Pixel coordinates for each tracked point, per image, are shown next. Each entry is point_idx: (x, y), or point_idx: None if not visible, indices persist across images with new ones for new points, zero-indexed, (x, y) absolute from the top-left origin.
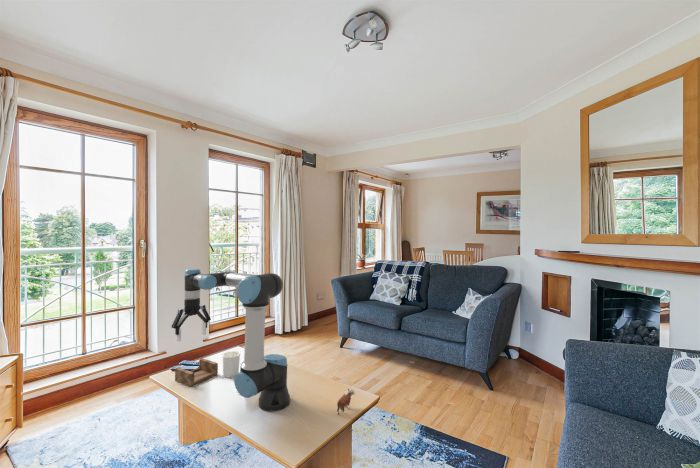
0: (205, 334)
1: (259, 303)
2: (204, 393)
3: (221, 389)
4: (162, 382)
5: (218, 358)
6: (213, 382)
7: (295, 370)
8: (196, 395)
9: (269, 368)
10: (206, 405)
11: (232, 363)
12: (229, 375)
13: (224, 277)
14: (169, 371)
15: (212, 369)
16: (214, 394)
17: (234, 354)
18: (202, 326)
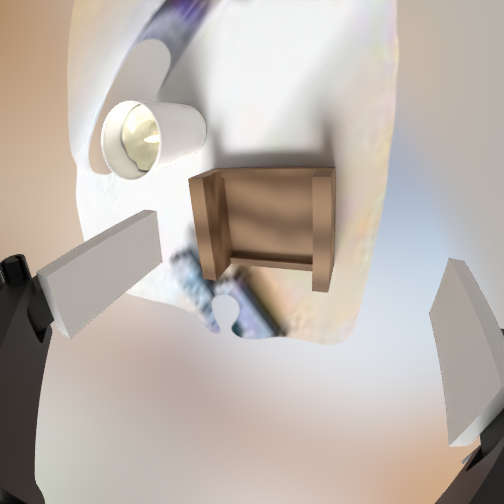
0: (146, 210)
1: None
2: (333, 76)
3: (273, 51)
4: (362, 292)
5: (151, 278)
6: (257, 126)
7: (75, 26)
8: (361, 89)
9: None
10: (376, 4)
11: (159, 103)
12: (195, 111)
13: None
14: (296, 336)
15: (216, 187)
16: (313, 39)
17: (117, 159)
18: (104, 295)
